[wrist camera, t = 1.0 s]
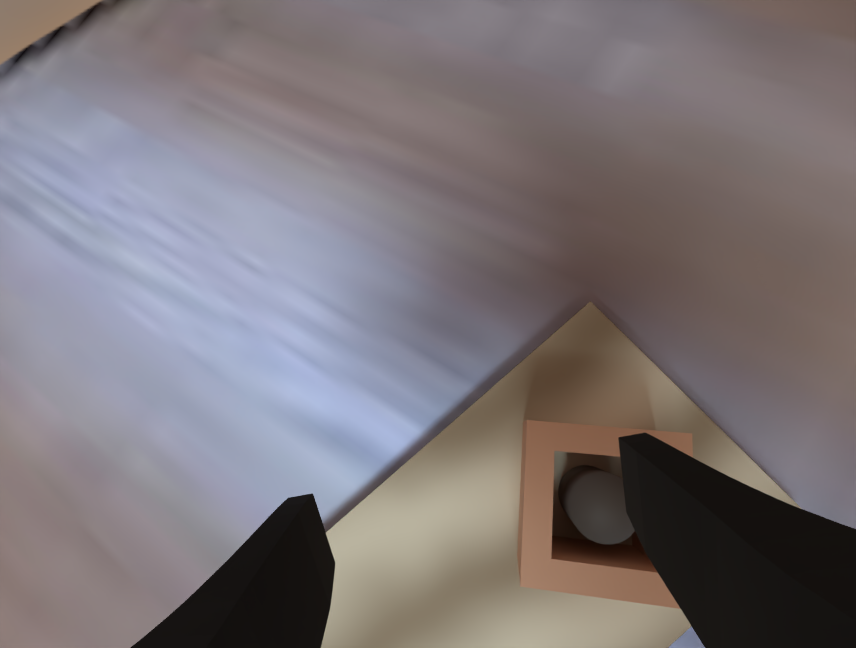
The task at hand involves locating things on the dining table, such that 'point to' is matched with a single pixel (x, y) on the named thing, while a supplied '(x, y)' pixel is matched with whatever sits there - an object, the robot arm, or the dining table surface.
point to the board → (515, 510)
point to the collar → (577, 558)
